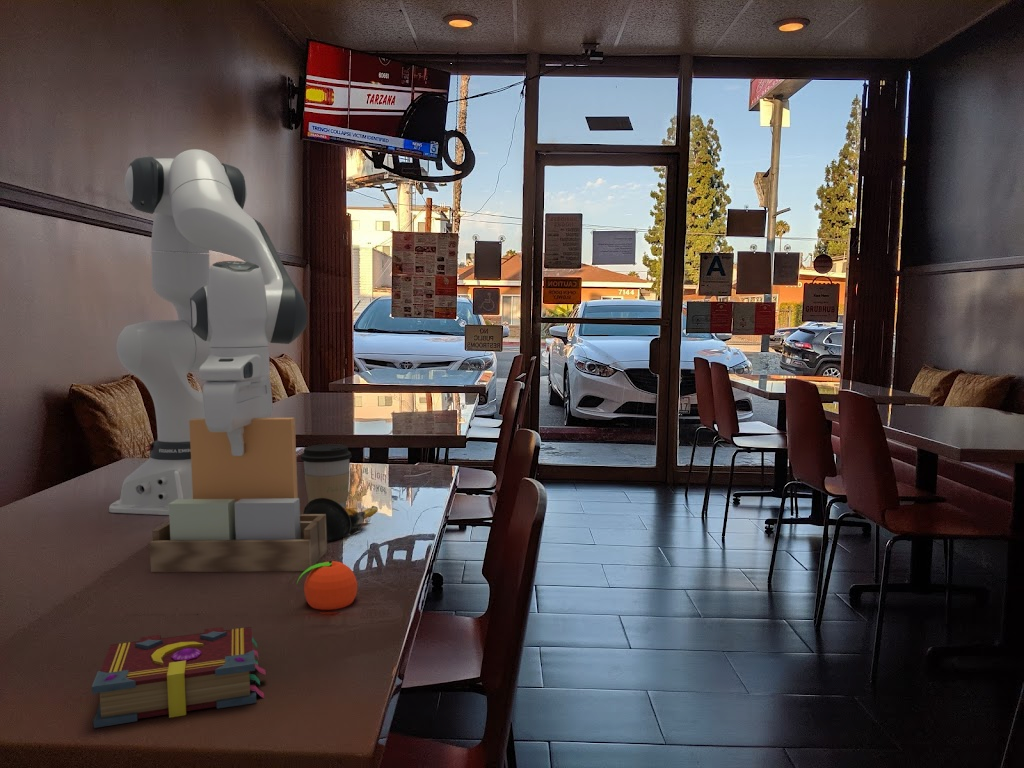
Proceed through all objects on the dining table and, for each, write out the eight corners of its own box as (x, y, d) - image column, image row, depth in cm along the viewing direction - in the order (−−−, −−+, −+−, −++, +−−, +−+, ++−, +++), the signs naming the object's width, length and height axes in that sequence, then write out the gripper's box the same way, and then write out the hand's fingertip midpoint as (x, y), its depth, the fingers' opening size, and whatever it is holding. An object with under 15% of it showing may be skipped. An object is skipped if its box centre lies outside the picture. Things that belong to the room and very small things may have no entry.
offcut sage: (171, 568, 123) (168, 503, 122) (180, 562, 126) (177, 499, 125) (230, 568, 123) (227, 503, 122) (237, 562, 126) (234, 498, 125)
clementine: (301, 627, 103) (299, 573, 102) (293, 609, 109) (291, 558, 109) (363, 617, 106) (362, 564, 105) (352, 600, 112) (350, 550, 112)
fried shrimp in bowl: (278, 525, 136) (324, 471, 152) (313, 576, 139) (354, 519, 155) (321, 508, 132) (363, 456, 148) (355, 561, 135) (393, 504, 151)
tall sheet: (195, 557, 128) (189, 420, 126) (200, 554, 130) (194, 418, 128) (296, 557, 128) (291, 419, 126) (299, 553, 130) (294, 417, 128)
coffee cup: (341, 533, 147) (339, 452, 146) (293, 531, 149) (290, 451, 148) (361, 520, 156) (359, 443, 155) (316, 518, 158) (313, 442, 157)
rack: (151, 581, 122) (148, 532, 121) (181, 560, 132) (179, 515, 132) (310, 580, 121) (308, 531, 121) (327, 559, 132) (325, 514, 131)
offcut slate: (237, 568, 123) (234, 503, 122) (244, 562, 126) (241, 498, 125) (296, 567, 123) (293, 502, 122) (301, 561, 126) (299, 498, 125)
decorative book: (111, 682, 89) (108, 637, 88) (264, 660, 94) (263, 618, 93) (93, 732, 78) (90, 682, 78) (268, 704, 83) (266, 657, 83)
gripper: (243, 361, 137) (246, 442, 138) (193, 370, 117) (197, 464, 118) (280, 361, 137) (283, 442, 138) (237, 369, 116) (241, 464, 118)
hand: (243, 452), depth 128 cm, fingers open, 3 cm apart
